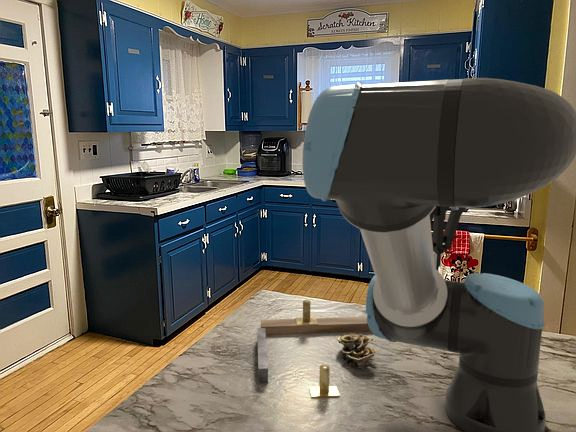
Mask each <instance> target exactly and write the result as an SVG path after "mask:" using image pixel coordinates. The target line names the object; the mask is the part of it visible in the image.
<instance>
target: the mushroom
mask: <svg viewBox="0 0 576 432" xmlns="http://www.w3.org/2000/svg"><path fill="white" fill-rule="evenodd" d="M373 340H374V338H373V337H372V338H370V337H369V336H368V335H363V334H362V333H358V334H356V333H348V334H343V335H342V336H338V337H337V338H336V341H337V342H338V344H342V349H340V351H341V352H342V353H341V358H340V360H342V361H343V362H345V363H343V366H344V367H345V368H346V369H347V368H350V369H351V368H355V369H358V368H365V367H366V366H367V365H369V364H371V363H372V362H373V361H374V362H375V358H373V357H375V353H377V350H376V349H375V348H373V347H369V346H368V345H369V343H370V342H371V341H373ZM371 358H372V359H371Z"/></svg>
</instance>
